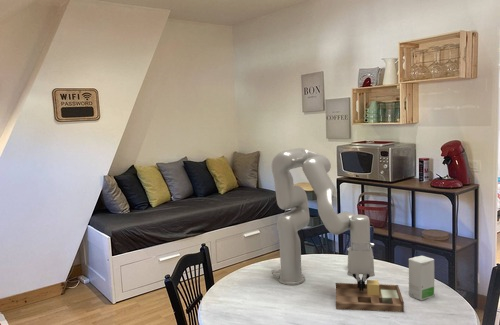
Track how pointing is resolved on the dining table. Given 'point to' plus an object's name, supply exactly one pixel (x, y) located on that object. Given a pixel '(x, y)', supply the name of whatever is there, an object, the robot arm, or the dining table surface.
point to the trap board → (369, 298)
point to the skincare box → (421, 277)
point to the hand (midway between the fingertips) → (361, 289)
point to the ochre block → (373, 287)
